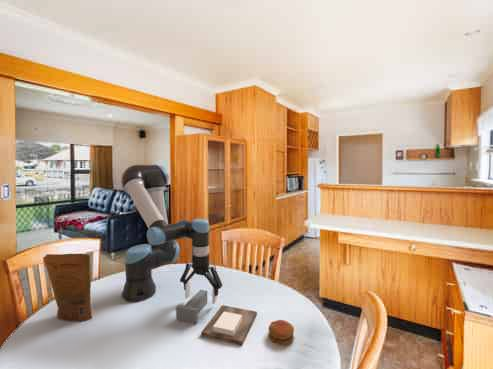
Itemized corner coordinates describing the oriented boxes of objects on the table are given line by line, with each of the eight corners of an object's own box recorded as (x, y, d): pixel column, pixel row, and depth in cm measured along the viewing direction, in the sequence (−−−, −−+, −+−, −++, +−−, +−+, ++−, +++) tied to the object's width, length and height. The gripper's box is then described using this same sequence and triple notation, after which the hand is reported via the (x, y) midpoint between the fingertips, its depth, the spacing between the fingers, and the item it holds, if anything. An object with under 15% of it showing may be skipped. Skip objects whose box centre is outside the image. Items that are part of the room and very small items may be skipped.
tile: (223, 316, 102) (213, 331, 92) (223, 311, 102) (213, 326, 92) (242, 319, 99) (233, 336, 90) (242, 315, 99) (233, 330, 90)
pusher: (176, 320, 102) (176, 306, 101) (195, 301, 116) (195, 288, 116) (195, 324, 99) (195, 310, 98) (212, 304, 113) (212, 291, 113)
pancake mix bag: (86, 325, 98) (83, 256, 96) (44, 321, 101) (40, 253, 99) (99, 315, 105) (96, 250, 103) (59, 311, 108) (56, 248, 106)
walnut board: (201, 335, 92) (201, 332, 92) (222, 308, 110) (222, 305, 110) (242, 345, 87) (242, 341, 87) (256, 315, 105) (256, 311, 105)
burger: (296, 347, 87) (296, 334, 86) (269, 346, 87) (269, 333, 87) (292, 328, 96) (292, 317, 96) (268, 328, 97) (268, 316, 97)
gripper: (171, 253, 111) (172, 298, 113) (222, 260, 104) (222, 309, 105) (181, 248, 119) (181, 291, 120) (229, 254, 111) (229, 300, 112)
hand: (200, 299), depth 113 cm, fingers open, 13 cm apart
